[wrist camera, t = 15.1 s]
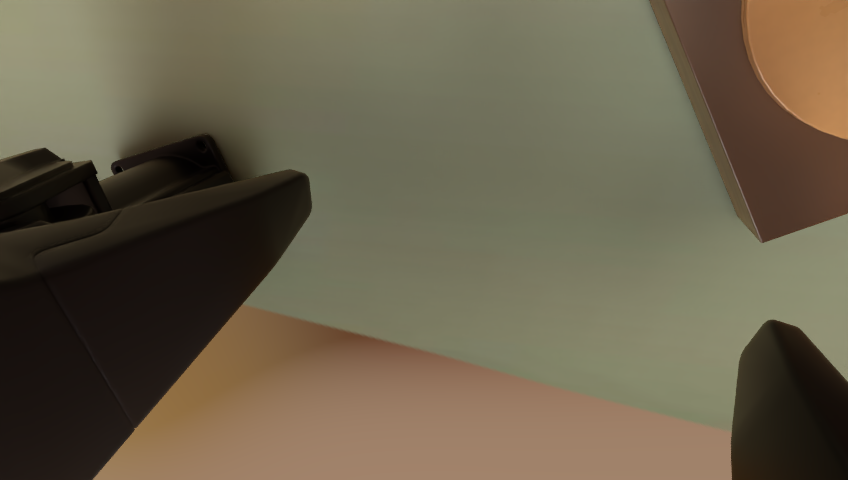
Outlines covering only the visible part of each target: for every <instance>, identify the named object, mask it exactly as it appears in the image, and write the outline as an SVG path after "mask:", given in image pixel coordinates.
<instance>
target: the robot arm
mask: <svg viewBox="0 0 848 480" xmlns="http://www.w3.org/2000/svg"><path fill="white" fill-rule="evenodd" d="M202 142H203V143H204V144H205V145H206V148H204V147H203V146H202ZM122 169H123V170H124V171H123V170H122ZM111 170H112V172H113V174H114V175H113V176H111V177H109V178H106V179H104V180H101V181H98V179H97V177H96V174H97V171H96V169H95V166H94V164H93V162H92V160H89V161H82V162H75V163H72V161H65V159H61V158H59V157H58V156H56V155H55V154H54V153H52V152H51V151H49V150H48V149H46V148H41V149H34V150H31V151H27V152H24V153H21V154H17V155H14V156H11V157H7V158H4V159H1V160H0V480H93V478H94V477H95V476H96V475H97V474H98V472H99V471H100V470H101V469H102V468H103V467H104V466H105V464H106V463H107V462H108V461H109V460H110V459H111V457H112V456H113V455H114V454H115V453H116V451H117V450H118V449H119V448H120V447H121V446H122V444H123V443H124V442H125V441H126V440H127V439H128V437H129V436H130V435H131V434H132V433H133V431H134V430H135V429H134V428H136V427H138V425H139V424H140V423H141V422H142V421H143V420H144V418H145V417H146V416H147V415H148V414H149V413H150V411H151V410H152V409H153V408H154V407H155V406H156V404H157V403H158V402H159V401H160V399H162V397H163V396H164V395H165V394H166V393H167V391H168V390H169V389H170V388H171V387H172V386H173V384H174V383H175V382H176V381H177V380H178V379H179V377H180V376H181V375H182V374H183V373H184V371H185V370H186V369H187V368H188V367H189V366H190V365H191V363H192V362H193V361H194V360H195V359H196V358H197V356H198V355H199V354H200V353H201V352H202V350H203V349H204V348H205V347H206V346H207V345H208V343H209V342H210V341H211V340H212V339H213V338H214V336H215V335H216V334H217V333H218V332H219V331H220V330H221V328H222V327H223V326H224V325H225V324H226V322H227V321H228V320H229V319H230V318H231V317H232V315H233V314H234V313H235V312H236V311H237V310H238V308H239V307H240V306H241V305H242V304H243V303H244V301H245V300H246V299H247V298H248V297H249V296H250V294H251V293H252V292H253V291H254V290H255V289H256V287H257V286H258V285H259V284H260V283H261V282H262V280H263V279H264V278H265V277H266V276H267V275H268V273H269V272H270V271H271V270H272V268H273V267H274V266H275V265H276V263H277V262H278V260H279V259H280V258H281V256H282V255H283V253H284V252H285V250H286V249H287V248H288V246H289V245H290V243H291V242H292V240H293V239H294V237H295V236H296V234H297V233H298V231H299V230H300V228H301V227H302V226H303V224H304V223H305V221H306V220H307V218H308V217H309V215H310V213H311V209H312V201H311V192H310V182H309V178H308V176H307V175H306V174H305V173H302V172H298V171H295V170H292V169H288V170H284V171H279V172H275V173H271V174H267V175H262V176H258V177H254V178H250V179H245V180H241V181H237V182H233V180H232V178H231V176H230V173H229V171H228V169H227V167H226V165H225V163H224V161H223V159H222V157H221V155H220V152H219V150H218V148H217V146H216V144H215V142H214V140H213V139H212V138H211V137H210V136H209V135H206V134H201V135H198V136H195V137H191V138H188V139H185V140H182V141H179V142H175V143H172V144H169V145H166V146H162V147H159V148H156V149H153V150H149V151H146V152H143V153H140V154H136V155H133V156H130V157H127V158H123V159H120V160H118V161H115V162H113V163H112V165H111ZM731 465H732V480H848V382H847V380H846V379H845V378H844V377H843V376H842V375H841V374H840V373H839V372H838V370H837V369H836V368H835V367H834V366H833V365H832V364H831V363H830V362H829V360H828V359H827V358H826V357H825V356H824V355H823V354H822V353H821V352H820V350H819V349H818V348H817V347H816V346H815V345H814V344H813V343H812V341H811V340H810V339H809V338H808V337H807V336H806V335H805V334H804V333H803V331H802V330H800V329H799V328H798V327H796V326H793V325H790V324H786V323H783V322H780V321H777V320H768V321H767V322H765V323H764V324H763V325H762V327H761V328H760V329H759V330H758V332H757V333H756V334H755V336H754V337H753V338H752V340H751V341H750V342H749V344H748V345H747V346H746V347H745V349H744V350H743V352H742V354H741V357H740V361H739V368H738V378H737V387H736V397H735V406H734V416H733V425H732V437H731Z"/></svg>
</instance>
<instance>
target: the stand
mask: <svg viewBox="0 0 848 480" xmlns="http://www.w3.org/2000/svg"><path fill="white" fill-rule="evenodd" d="M649 1H650V4H651V6H652V8H653V11H654V13H655V16H656V18H657V21H658V23H659V26H660V28H661V30H662V33H663V35H664V38H665V40H666V43H667V45H668V47H669V50H670V52H671V55H672V57H673V60H674V62H675V65H676V67H677V69H678V72H679V74H680V77H681V79H682V82H683V84H684V87H685V89H686V91H687V94H688V96H689V99H690V101H691V104H692V106H693V108H694V111H695V113H696V116H697V118H698V121H699V123H700V126H701V128H702V130H703V133H704V135H705V138H706V140H707V143H708V145H709V148H710V150H711V152H712V155H713V157H714V160H715V162H716V165H717V167H718V169H719V172H720V174H721V177H722V179H723V182H724V184H725V187H726V189H727V191H728V194H729V196H730V199H731V201H732V204H733V206H734V209H735V211H736V213H737V216H738V217H739V218H740V219H741V220H742V222H743V223H744V224H745V225H746V226H747V227H748V228H749V230H750V231H751V232H752V233H753V234H754V235H755V236H756V238H757V239H758V240H759V241H760V242H761V243H764V242H767V241H770V240H772V239H775V238H778V237H781V236H784V235H787V234H790V233H793V232H795V231H798V230H801V229H804V228H807V227H810V226H813V225H816V224H819V223H821V222H824V221H827V220H830V219H833V218H836V217H839V216H842V215H845V214H847V213H848V0H649Z"/></svg>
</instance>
